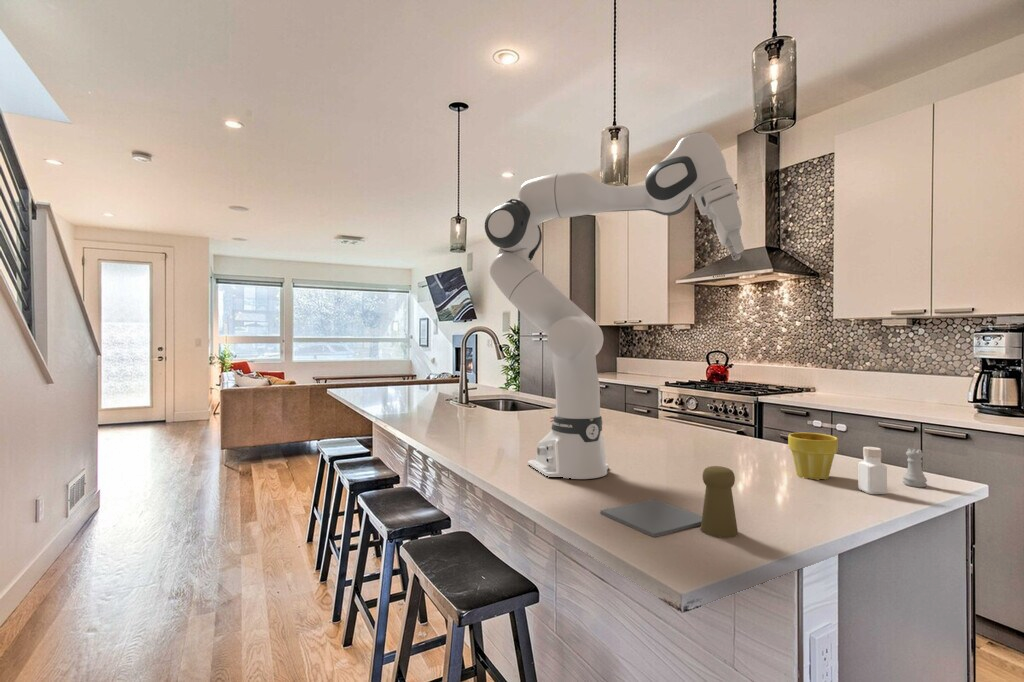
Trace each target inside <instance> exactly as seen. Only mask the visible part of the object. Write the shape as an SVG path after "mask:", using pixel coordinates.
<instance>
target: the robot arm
mask: <svg viewBox="0 0 1024 682" xmlns="http://www.w3.org/2000/svg"><path fill="white" fill-rule="evenodd" d="M644 182H645V184H635V185H633V184H632V185H619V186H618V185H617V186H616V185H611V184H606V183H605V182H602V181H600V180H598V179H596V178H594V177H593V176H591V175H590V174H587V173H585V172H580V171H579V172H578V171H577V172H576V171H567V172H559V173H558V172H557V173H551V174H547V175H546V174H545V175H542V176H538V177H535V178H532V179H528V180H525V181H524V182H523V183H522V184H521V185H520V187H519V190H518V193H517V195H518V196H517V198H510V199H508V200H506V201H505V202H504V203H503V204H500V205H498V206H496V207H494V208H493V209H492V210H491V211H490V212H489V213H488V214H487V216H486V218H485V219H484V220H485V221H484V232H485V234H486V237H487V238H488V239H489V241H490V242H491V243H492V244H493V245H494V246H496V247H497V248H499V249H498V253H497V256H495V258H494V259H493V260H492V262H491V263H490V267H489V274H490V277H491V279H492V280H493V282H494V284H495V285H496V287H497V288H498V289H499V290H500V291H501V293H502V294H503V295H504V297H505V298H506V299H507V300H508V301H509V302H510V303H511V304H512V305H513V306H514V307H515V308H516V309H517V310H518V311H519V312H520V313H521V314H522V315H523V316H524V317H525V319H527V320H528V322H529V323H530V324H532V325H533V326H534V327H536V328H537V329H539V330H540V331H541V332H543V333H544V334H545V335H546V336H547V345H548V348H549V350H550V358H551V365H552V373H553V376H554V377H553V378H554V385H555V415H554V416H553V417H550V419H552V420H550V423H552V424H551V428H550V429H551V430H550V431H549V432H548V433H547V434H546V435H545V436H544V437H543V438H542V439H541V440H540V441H538V443H537V446H536V458H533V459H529V460H528V461H527V465H528V464H529V465H531V466H532V467H534V468H535V469H536V470H538V471H539V472H538V471H537V472H538V473H540V472H541V473H542V474H541V473H540V474H541V475H543V474H544V475H546V476H548V477H547V478H549V477H563V478H562V479H569V478H571V480H589V479H597V478H601V477H604V476H607V475H608V470H609V469H608V468H609V467H610V466H609V463H607V460H606V449H605V440H604V439H605V438H604V437H603V435H602V433H601V432H602V431H603V418H602V416H601V383H600V381H599V376H598V369H597V359H596V357H597V355H598V354H599V352H601V350H602V347H603V344H604V333H603V331H602V328H601V327H600V326H599V325H598V323H596V322H595V321H594V320H593V318H591V317H590V316H589V315H588V314H587V313H585V312H584V311H583V310H582V309H581V308H580V307H579V306H578V305H577V304H575V302H573V301H572V300H571V299H570V298H569V297H567V295H565V294H564V293H563V292H561V290H559V288H558V287H557V286H556V285H554V283H553V282H551V280H550V279H548V278H547V276H545V275H544V274H543V273H542V272H541V270H540V269H538V268H537V267H536V266H535V265H534V264H533V262H531V261H532V260H533V258H534V256H535V254H536V252H537V250H538V249H539V248H540V245H541V244H542V239H543V233H542V229H541V227H540V225H541V223H543V222H545V221H547V220H550V219H563V218H565V219H566V218H573V217H579V216H581V217H582V216H587V215H595V214H600V213H611V212H612V213H613V212H629V211H630V212H632V211H633V212H634V211H635V212H636V211H637V212H638V211H648V212H654V213H656V214H659V215H662V216H667V217H668V216H670V217H671V216H675V215H678V214H680V213H682V212H683V211H684V210H686V208H688V206H689V205H690V203H691V201H692V197H693V198H694V199H693V200H694V201H695V203H696V206H697V209H698V212H699V214H700V215H701V216H706V217H707V218H708V220H712V223H713V226H714V229H715V232H716V235H717V237H718V240H719V243H720V245H721V246H722V247H726V248H727V250H728V252H729V254H730V255H731V258H732V260H733V261H737V260H740V259H741V257H742V254H741V253H743V252H744V250H745V247H744V244H743V241H742V236H741V233H740V231H741V228H742V225H743V220H742V216H741V213H740V212H741V211H740V209H739V206H738V205H739V204H738V201H739V200H740V195H739V193H738V191H737V190H738V189H737V187H736V184H735V183H734V180H733V178H732V176H731V175H730V174H729V172H728V170H727V163H726V160H725V157H724V155H723V153H722V150H721V148H720V145H719V144H718V143H717V141H716V139H715V138H714V137H713V136H712V135H711V134H710V133H708V132H704V131H703V132H701V131H698V132H694V133H689V134H687V135H686V136H684V137H682V138H680V140H679V141H678V142H677V144H676V146H675V147H674V149H673V150H671V152H670V153H669V154H668V155H667V156H666V157H665V158H664V159H662V160H661V161H660V162H657V163H656V164H655V165H654V166H652V167H651V168H650V169H649V171H648V173H647V174H646V177H645V181H644ZM529 465H528V466H529ZM532 467H531V468H532ZM535 469H534V470H535ZM536 470H535V471H536ZM544 475H543V476H544ZM546 476H545V477H546Z"/></svg>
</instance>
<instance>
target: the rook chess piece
mask: <svg viewBox="0 0 1024 682" xmlns="http://www.w3.org/2000/svg"><path fill="white" fill-rule="evenodd" d="M922 451H923V450H921V449H919V448H918V449H916V448H907V451H906V452H905V454H906V456H907V459H906V461H907V469H906V472H905V474H904V475H903V477H902V478H903V480H902V483H903V484H904V485H905V486H907V487H910V488H911V487H912V488H917V489H918V488H921V489H922V488H926V487H928V484H927V482H928V480H927V477H926V476H925V474H924V472H923V467H922V463H923V462H924V461H923V460H922V458H923V457H924V455H925V453H923V452H922Z"/></svg>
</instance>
